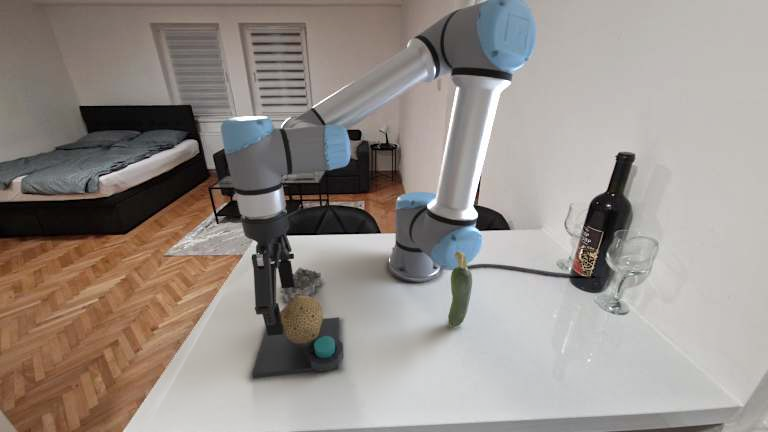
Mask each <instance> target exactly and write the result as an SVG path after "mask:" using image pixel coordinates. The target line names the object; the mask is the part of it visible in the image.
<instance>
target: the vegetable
mask: <svg viewBox="0 0 768 432" xmlns="http://www.w3.org/2000/svg"><path fill="white" fill-rule="evenodd" d="M457 257H458V258H457ZM455 258H457V263H458V265H459V266H458V267H456V268H455V269H454V270H451V271H452V272H451V275H450V288H451V289H450V290H451V295H452V300H451V305H450V307H449V312H448V315H447V317H448V318H447V319H448V325H449V326H450V328H451V329H453V328H456V327H459V326H460V325H461V324H462V323H463V322H464V320H465V318H466V315H467V313H468V308H469V305H470V304H469V303H470V301H471V294H472V288H473V274H472V273H471V270H470V268H467V266H468V264H467V261H466V258H465V256H464V254H463V253H461V252H457V253H456V254H455Z"/></svg>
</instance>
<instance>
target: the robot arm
mask: <svg viewBox="0 0 768 432" xmlns="http://www.w3.org/2000/svg"><path fill="white" fill-rule="evenodd" d="M536 40H537V26H536V20H535V17H534V16H533V13H532V10H531V7H530V6H529V5H528V3H527V2H526V1H524V0H485V1H481V2H478V3H477V4H473V5H469V6H467V7H462V8H459V9H456V10H454V11H451V12H449V13H447V14H446V15H444V16H443V17H442V18H440V19H439V20H438V21H436V22H434V23H433V24H432V25H430V26H429V27H428V28H426V29H425V30H423V31H422V32H420V33H419V34H418V35H416V36H414V37H413V38H411V39H410V40H409V41H408V43H407V46H406V48H405V49H403V50H401V51H400V52H398V53H397V54H394V56H392V57H390V58H389V59H387V60H385V61H384V62H382V63H381V64H379V65H378V66H375V67H374V68H373V69H371V70H370V71H368V72H367V73H364V74H363V75H362V76H360V77H358V78H357V79H355V80H353V81H352V82H350V83H348V84H347V85H345V86H344V87H342V88H340V89H338V90H337V91H336V92H334V93H333V94H331V95H329V96H328V97H326V98H324V99H323V100H321V101H320V102H319V103H317V104H315V105H313V106H312V107H311V108H309V109H307V110H305V111H303V112H302V113H301V114H299V115H295V116H294V115H293V116H291V117H288V118H286V119H285V120H284V121H283V123H282V124H281V126H280V128H279V127H278V128H275V125H274V123H273V121H272V119H271V118H270V117H269V116H264V115H263V116H261V115H256V116H253V115H252V116H250V115H249V116H238V117H237V116H236V117H231V118H227V119H225V120H224V121H223V122H221V123H222V124H221V125H220V132H221V138H222V144H223V149H224V155H225V159H226V163H227V166H228V171H229V174H230V178H231V182H232V186H233V190H234V194H233V197H232V198H233V200H235V201H236V202H237V207H238V211H239V214H240V215H241V216H240V221H241V222H240V223H241V225H242V230H243V235H244V236H245V237H246V238H248V239H249V240H252V241H255V242H256V243H257V244H256V246H255V253H252V254H251V263H252V268H253V282H254V283H253V284H254V301H255V302H254V303H255V306H254V311H255V314H256V315H257V316H258V315H262V318H263V321H264V326H265V330H267V335H268V336H271V335H281V334H283V333H284V329H283V324H282V319H281V314H280V311H281V310H280V306H279V303H278V302H277V272H278V276H279V281H280V287H282V288H292V287H294V286H295V283H294V278H293V274H294V272H293V267H292V260H294V259H295V254H294V253H292V247H291V244H290V240H289V238H288V235H287V232H288V230H289V229H290V223H289V216H288V211H287V209H286V207H287V202H286V197H285V196H286V195H285V192H284V185H283V179H282V176H289V175H298V174H305V173H313V172H314V173H315V172H322V171H332V170H336V169H341V168H345V167H346V166H348V164H349V163H350V160H351V153H352V148H351V141H350V140H351V139H350V137H349V133H348V130H350V129H351V128H353V127H354V126H356V125H357V124H360V123H361V122H362V121H364V120H366V119H367V118H368V117H370V116H371V115H373V114H374V113H376V112H378V111H379V110H381V109H383V108H384V107H385V106H387V105H388V104H390V103H391V102H393V101H395V100H396V99H398V98H399V97H401V96H402V95H404V94H405V93H407V92H409V91H410V90H412V89H414V88H415V87H417V86H418V85H420V84H421V83H422V82H424V83H431V82H432V81H434V80H436V79H437V78H440V77H441V76H444V75H448V74H450V79H451V81H452V83H453V84H454V86H455V94H454V98H453V104H452V109H451V114H450V119H449V125H448V130H447V136H446V140H445V146H444V151H443V157H442V161H441V165H440V166H441V167H440V172H439V177H438V182H437V188H436V193H434V192H429V191H412V192H407V193H403V194H401V195H400V196H398V197H397V198H396V203H395V209H394V210H395V244H394V247H392V251H391V254H390V257H389V260H388V269H389V271H390V273H391V275H393V276H394V277H395V278H397V279H399V280H401V281H404V282H408V283H426V282H429V281H432V280H434V279H436V278H437V277H438V276H439V274H440V273H441V269H444V270H448V271H453V270H454V269H455V268H456V267H458V266H459V265H458V263H457V258H458V257H457V258H455V254H456V253H457V252H461V253H463V254H464V256H465V258H466V261H467V268H468V269H472V268H473V269H474V268H481V267H486V268H487V267H489V268H501V269H502V268H503V269H511V270H518V271H524V272H531V273H536V274H537V273H538V274H544V275H550V276H558V277H559V276H560V277H572V278H574V277H573V276H572V275H571V274H572V273H566V272H565V273H564V272H556V271H555V272H554V271H549V270H548V271H547V270H541V269H535V268H527V267H522V266H521V267H520V266H514V265H506V264H495V263H477V264H471V265H469V264H470V263H471V262H473V260H475V258H477V256H478V254H479V253H480V251H481V249H482V247H483V241H484V238H483V235H482V233H481V232H480V230H479V229H478V228H477V227H476V226H477V220H478V216H479V213H478V211H477V209H475V207H474V204H475V199H476V195H477V191H478V188H479V183H480V178H481V174H482V172H483V171H482V170H483V166H484V162H485V159H486V154H487V149H488V145H489V140H490V137H491V133H492V128H493V125H494V124H493V123H494V121H495V116H496V113H497V112H496V111H497V107H498V103H499V99H500V96H501V93H502V91H504V90H505V89H507V87H509V86H511V84H512V79H513V75H514V72H515V71H517V70H519V69H520V68H522V67H523V66H524V65H525V64H526V62H527V61H529V59H530V58H531V56H532V54H533V53H534V49H535V45H536ZM294 288H295V287H294ZM292 289H293V288H292Z"/></svg>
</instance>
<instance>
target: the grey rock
mask: <svg viewBox="0 0 768 432" xmlns="http://www.w3.org/2000/svg"><path fill="white" fill-rule="evenodd" d="M321 275H322V273H321V272H316V270H311V269H307V268H306V269H304V268H303V267H298V268H297V269H296V270H295V272H294V273H293V278H294V283H295V286H294V287H292V288H282V287H281V286H280V288H279V294H282V295H283V298H284V301H285V302H287V303H289V302H291V301H292V300H293V299H294V298H296V297H298V296H309V295H311V294H312V295H313V294H314V293H315V290H316V289H315V287H319V286H320V285H321V282H320V278H321V277H322V276H321ZM298 287H299V288H298ZM295 288H297V289H295ZM293 289H295V292H293ZM309 297H310V296H309Z"/></svg>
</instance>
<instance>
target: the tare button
mask: <svg viewBox="0 0 768 432" xmlns="http://www.w3.org/2000/svg"><path fill="white" fill-rule="evenodd" d="M314 350H315V355H316V356H317V357H318V358H320V359H326V358H329V357H331V356H332V355H333V354H334V353H335V341H334V339H333V338H332V337H329V336H323V337H320V338H319V339H317V340H316V341H315V343H314Z"/></svg>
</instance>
